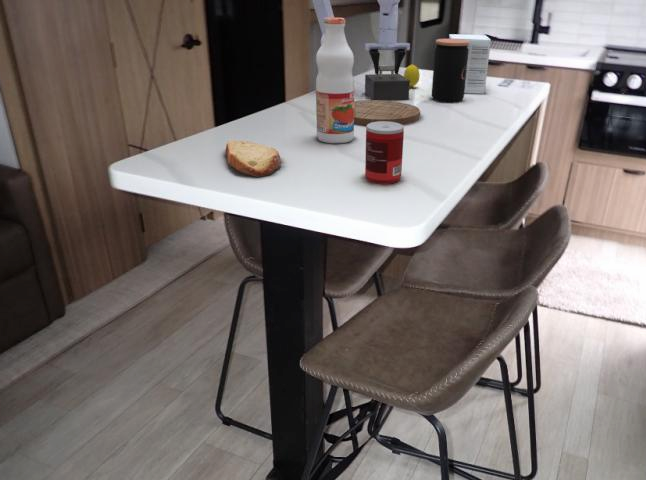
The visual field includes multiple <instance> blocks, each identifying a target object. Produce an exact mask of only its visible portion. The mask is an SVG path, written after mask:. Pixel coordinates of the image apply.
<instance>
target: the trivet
mask: <svg viewBox="0 0 646 480" xmlns="http://www.w3.org/2000/svg"><path fill="white" fill-rule="evenodd" d="M420 118H421V110H420V108H419V107H417V106H415V105H412V104H410V103H405V102H402V101H395V100H372V99H365V100H354V125H358V126H365V127H367V124H369V123H372V122H379V121H388V122H396V123H399V124H401V125H403V126H407V125H409V124H413V123H414V124H415V122H417V121H419V120H420Z"/></svg>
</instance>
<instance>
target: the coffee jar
mask: <svg viewBox="0 0 646 480" xmlns="http://www.w3.org/2000/svg"><path fill="white" fill-rule="evenodd" d="M435 44H436V46H435V49H434V57H433V69H432V71H433V72H432V85H431V97H432V100H434V101H436V102H440V103H447V104H449V103H451V104H453V103H459V102H462V101H463V99H464V98H465V93H464V90H465V81H466V71H467V61H468V51H469V50H468V48H467V46H468V45H469V41H468V40H462V39H449V38H437V39H436V40H435Z"/></svg>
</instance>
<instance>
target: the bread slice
mask: <svg viewBox="0 0 646 480" xmlns="http://www.w3.org/2000/svg"><path fill="white" fill-rule="evenodd" d="M225 156H226V160H227V163H228V165H229V166H230V167H232V168H233V169H235V170H236V171H238V172H239V173H241V174H243V175H247V176H250V177H251V176H252V177H255V178H260V177H265V176H269V175H272V174H273V173H274V171H275V170H277V169H279V168H280V167H281V165H282V160H281V156H280V154H279V151H278V150H277V149H276V148H274V147H269V146H267V145H264V144H262V143H257V142H253V141H251V142H250V141H241V140H228V141H227V143H226V146H225Z"/></svg>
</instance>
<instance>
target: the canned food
mask: <svg viewBox="0 0 646 480" xmlns="http://www.w3.org/2000/svg"><path fill="white" fill-rule="evenodd" d="M404 126H405V125H401V124H399V123H396V122H388V121H379V122H372V123H369V124H367V126H365V160H364V161H365V168H364V171H365V172H364V175H365V179H366V180H367V181H368V182H370V183H372V184H378V185H390V184H395V183H397V182H399V181H400V180H401V178H402V170H403V155H404V153H403V151H404V134H405V133H404V131H405V127H404Z"/></svg>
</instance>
